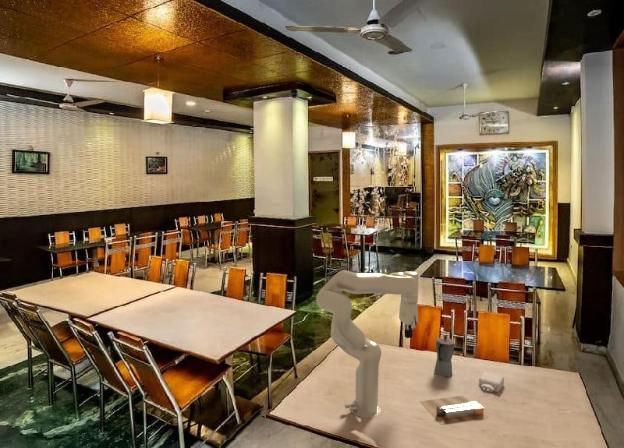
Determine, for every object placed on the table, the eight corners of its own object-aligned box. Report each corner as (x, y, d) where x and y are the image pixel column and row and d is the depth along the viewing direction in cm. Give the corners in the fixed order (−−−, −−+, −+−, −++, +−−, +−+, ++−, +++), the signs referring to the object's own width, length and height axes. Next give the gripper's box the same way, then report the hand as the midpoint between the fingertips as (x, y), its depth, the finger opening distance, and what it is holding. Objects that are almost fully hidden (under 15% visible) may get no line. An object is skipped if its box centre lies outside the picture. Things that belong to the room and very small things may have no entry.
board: (441, 427, 167) (441, 424, 166) (419, 404, 184) (419, 401, 184) (488, 420, 172) (488, 417, 172) (462, 397, 189) (463, 395, 189)
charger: (475, 392, 195) (483, 380, 207) (495, 398, 189) (503, 385, 201) (475, 382, 194) (484, 371, 206) (496, 388, 189) (504, 376, 201)
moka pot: (456, 370, 216) (458, 333, 214) (449, 382, 203) (450, 343, 201) (438, 366, 221) (439, 330, 219) (429, 377, 208) (430, 339, 206)
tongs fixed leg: (447, 420, 169) (447, 413, 169) (444, 416, 172) (444, 409, 171) (483, 414, 173) (483, 407, 173) (479, 411, 176) (480, 404, 175)
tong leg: (438, 417, 171) (438, 410, 171) (434, 413, 174) (435, 406, 174) (479, 411, 176) (480, 404, 175) (475, 407, 179) (475, 401, 178)
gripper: (394, 294, 195) (393, 332, 197) (409, 303, 181) (408, 344, 182) (409, 293, 197) (408, 331, 199) (425, 302, 182) (423, 342, 184)
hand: (408, 337), depth 191 cm, fingers closed
